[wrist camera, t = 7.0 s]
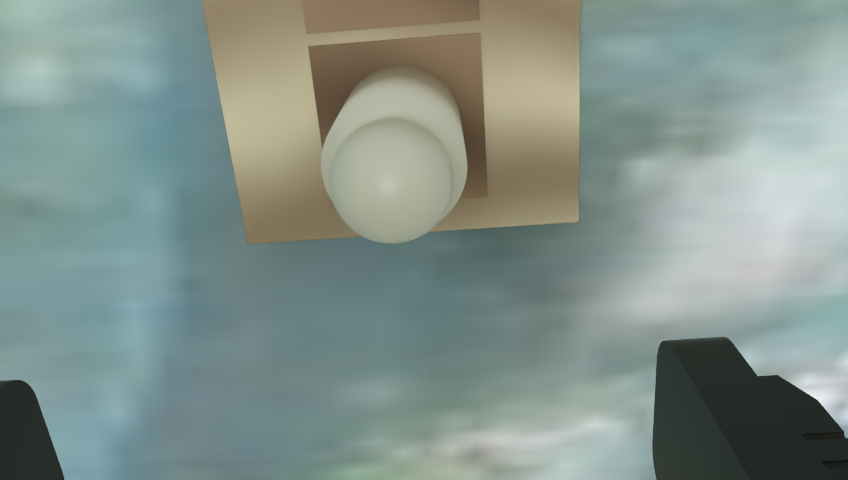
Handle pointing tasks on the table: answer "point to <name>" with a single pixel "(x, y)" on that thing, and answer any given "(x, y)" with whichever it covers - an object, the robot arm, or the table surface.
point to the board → (385, 46)
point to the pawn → (395, 155)
